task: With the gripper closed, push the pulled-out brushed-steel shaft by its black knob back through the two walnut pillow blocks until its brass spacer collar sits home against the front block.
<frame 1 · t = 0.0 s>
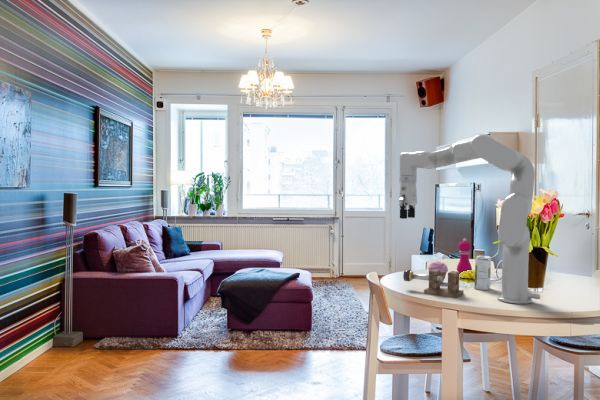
hand: (407, 218, 213), 31 cm above the table, fingers open, 9 cm apart
pepper mill: (464, 278, 238), on the table
cupcake: (437, 282, 226), on the table
shaft: (423, 277, 205), point 6 cm above the table, slide at 8.0 cm
silver can: (482, 289, 212), on the table
bracket: (441, 293, 201), on the table
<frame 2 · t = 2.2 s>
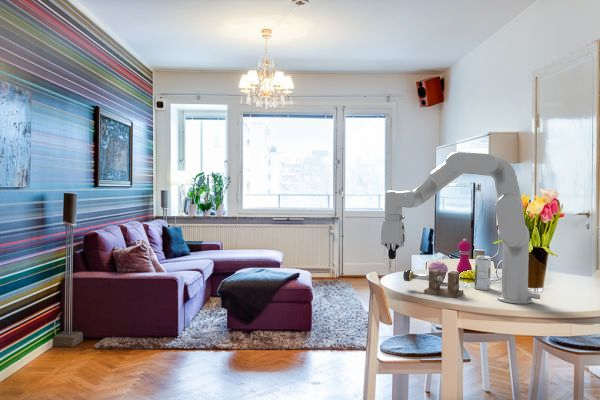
hand: (391, 258, 213), 13 cm above the table, fingers closed
nothing on the table moved.
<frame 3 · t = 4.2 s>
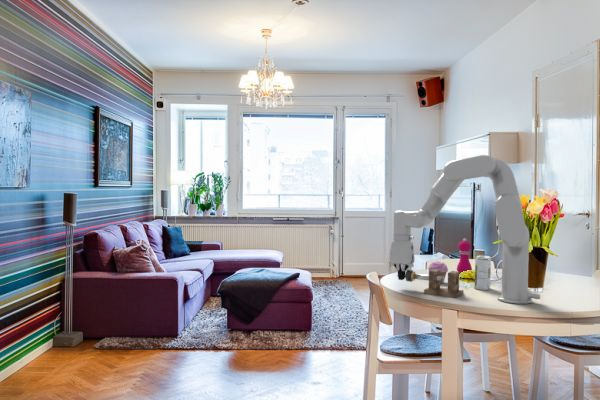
hand: (401, 279, 211), 4 cm above the table, fingers closed
shaft: (425, 277, 205), point 6 cm above the table, slide at 7.1 cm, touching gripper
everything else where it was.
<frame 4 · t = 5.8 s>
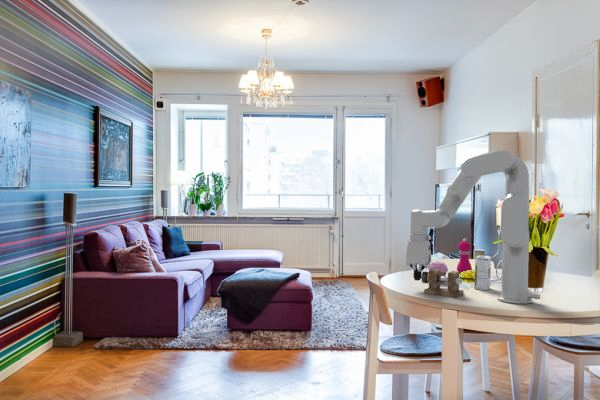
hand: (417, 279, 207), 5 cm above the table, fingers closed
shaft: (441, 279, 201), point 6 cm above the table, slide at -0.1 cm, touching gripper
everything else where it was.
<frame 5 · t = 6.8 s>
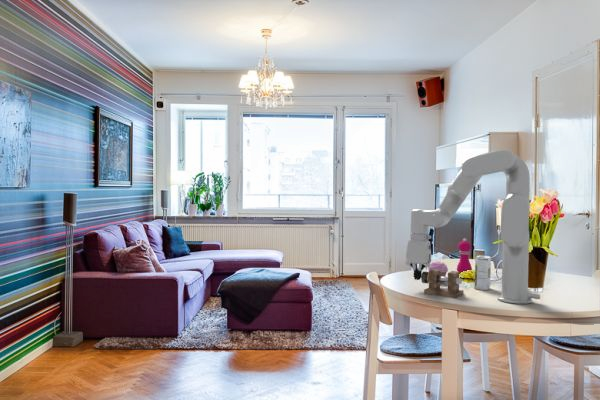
hand: (417, 279, 206), 5 cm above the table, fingers closed
nothing on the table moved.
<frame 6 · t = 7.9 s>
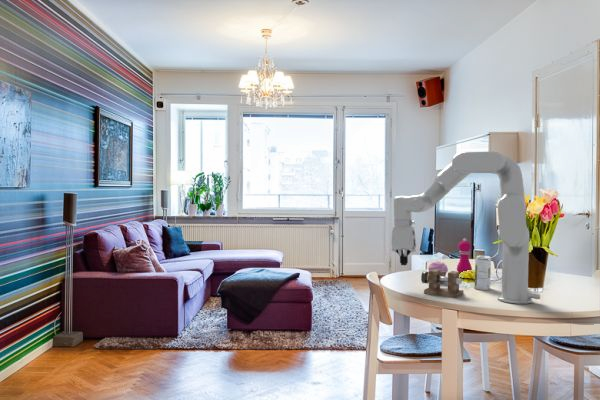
hand: (404, 264, 211), 10 cm above the table, fingers closed
shaft: (441, 279, 201), point 6 cm above the table, slide at 0.0 cm
everything else where it was.
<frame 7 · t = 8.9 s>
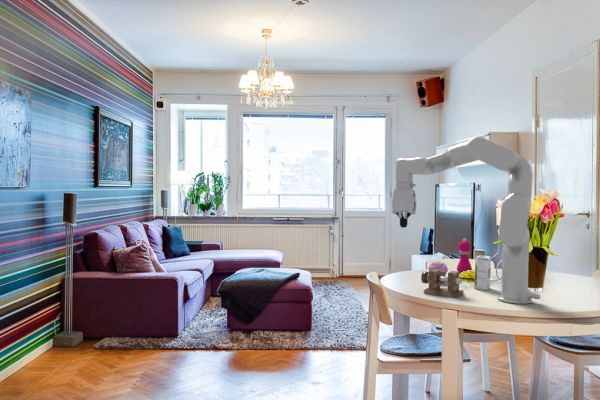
hand: (403, 227, 212), 27 cm above the table, fingers closed
nothing on the table moved.
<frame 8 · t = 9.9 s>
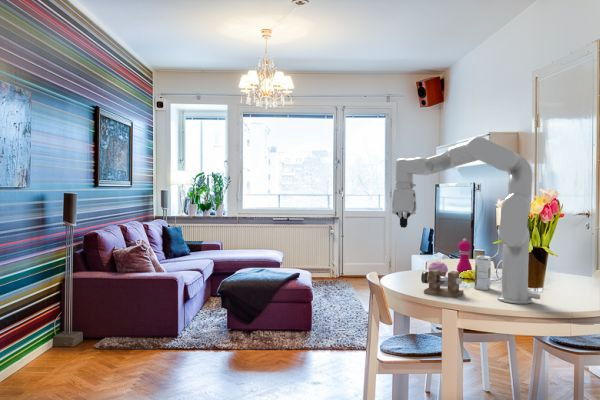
hand: (403, 227, 212), 27 cm above the table, fingers closed
nothing on the table moved.
at the end: shaft slide at 0.0 cm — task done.
